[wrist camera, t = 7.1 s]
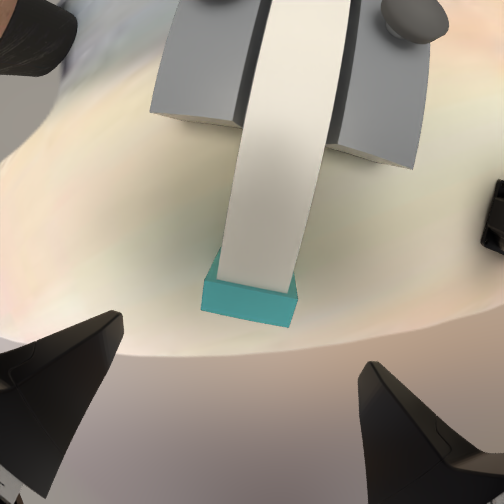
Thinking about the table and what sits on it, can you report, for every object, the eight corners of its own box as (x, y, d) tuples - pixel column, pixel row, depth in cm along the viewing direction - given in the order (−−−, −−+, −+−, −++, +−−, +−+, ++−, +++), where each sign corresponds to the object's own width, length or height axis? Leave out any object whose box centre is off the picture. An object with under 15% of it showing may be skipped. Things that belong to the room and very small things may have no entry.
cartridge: (344, 14, 13) (364, -19, 8) (285, 286, 20) (288, 327, 16) (272, -2, 13) (271, -41, 8) (216, 272, 20) (200, 310, 16)
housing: (397, 25, 13) (440, -9, 6) (377, 162, 17) (426, 172, 11) (217, -15, 13) (196, -65, 6) (181, 120, 17) (136, 109, 11)
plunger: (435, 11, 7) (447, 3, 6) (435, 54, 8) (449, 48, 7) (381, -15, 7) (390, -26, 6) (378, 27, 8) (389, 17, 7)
